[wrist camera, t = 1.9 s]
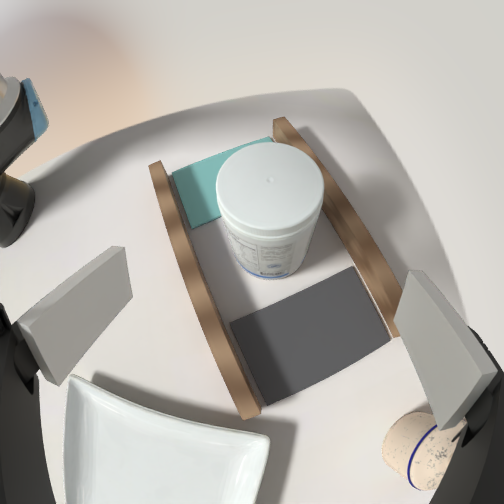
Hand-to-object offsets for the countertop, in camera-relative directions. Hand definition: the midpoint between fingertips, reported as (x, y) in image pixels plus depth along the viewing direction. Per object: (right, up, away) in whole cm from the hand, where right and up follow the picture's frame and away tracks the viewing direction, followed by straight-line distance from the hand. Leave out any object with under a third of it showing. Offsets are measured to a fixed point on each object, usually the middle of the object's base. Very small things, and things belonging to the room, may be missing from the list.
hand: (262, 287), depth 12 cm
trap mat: (+7, -8, +20) cm, 22 cm away
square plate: (-14, -30, +13) cm, 35 cm away
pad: (-3, +13, +29) cm, 32 cm away
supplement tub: (+2, +2, +24) cm, 25 cm away
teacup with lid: (+22, -23, +13) cm, 34 cm away
